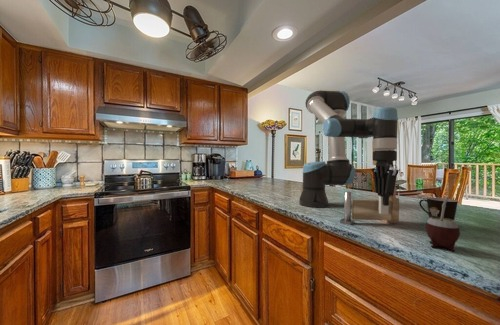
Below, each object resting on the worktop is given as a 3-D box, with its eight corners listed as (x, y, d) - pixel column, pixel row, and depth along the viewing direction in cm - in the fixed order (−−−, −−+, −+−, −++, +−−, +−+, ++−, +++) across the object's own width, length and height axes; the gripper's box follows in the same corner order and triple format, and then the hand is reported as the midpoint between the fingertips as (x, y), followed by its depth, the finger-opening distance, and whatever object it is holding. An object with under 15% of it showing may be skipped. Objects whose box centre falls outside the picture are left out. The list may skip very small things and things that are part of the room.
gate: (351, 219, 82) (351, 196, 82) (394, 220, 81) (395, 197, 81) (354, 221, 80) (354, 197, 79) (398, 222, 79) (399, 198, 79)
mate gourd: (439, 241, 63) (440, 192, 62) (470, 253, 55) (472, 197, 55) (417, 243, 62) (418, 192, 61) (446, 255, 54) (447, 197, 54)
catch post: (387, 222, 81) (387, 187, 81) (380, 220, 85) (380, 185, 85) (395, 222, 82) (395, 187, 82) (387, 219, 85) (388, 185, 85)
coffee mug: (463, 230, 73) (464, 202, 73) (435, 228, 75) (436, 201, 75) (440, 220, 85) (441, 196, 85) (416, 219, 86) (417, 195, 86)
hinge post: (344, 220, 84) (344, 190, 84) (354, 222, 81) (355, 192, 81) (339, 222, 81) (340, 191, 81) (350, 224, 78) (351, 193, 78)
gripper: (407, 149, 70) (405, 218, 71) (384, 151, 83) (383, 209, 84) (384, 149, 71) (383, 218, 71) (365, 151, 84) (364, 209, 84)
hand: (383, 213), depth 77 cm, fingers closed
